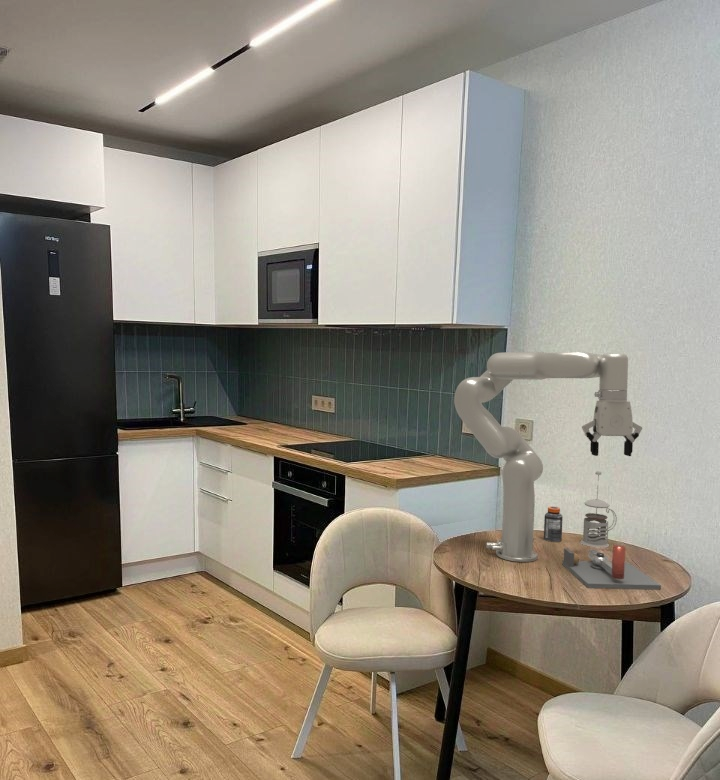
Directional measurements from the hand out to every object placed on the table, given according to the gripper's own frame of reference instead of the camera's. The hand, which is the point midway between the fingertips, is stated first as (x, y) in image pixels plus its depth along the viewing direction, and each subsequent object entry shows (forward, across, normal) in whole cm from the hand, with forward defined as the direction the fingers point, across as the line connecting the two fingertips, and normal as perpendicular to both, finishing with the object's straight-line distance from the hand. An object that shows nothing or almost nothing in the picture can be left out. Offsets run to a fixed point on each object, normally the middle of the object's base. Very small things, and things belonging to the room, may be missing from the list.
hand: (611, 455), depth 184 cm
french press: (+34, +10, +30) cm, 47 cm away
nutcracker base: (+34, -1, -3) cm, 35 cm away
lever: (+32, -2, -3) cm, 32 cm away
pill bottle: (+34, -4, +34) cm, 49 cm away
